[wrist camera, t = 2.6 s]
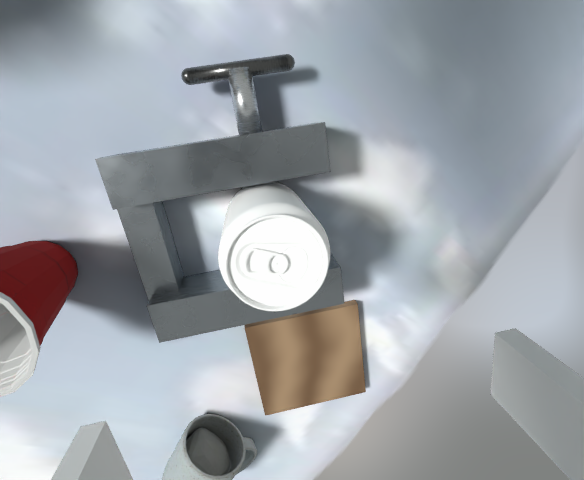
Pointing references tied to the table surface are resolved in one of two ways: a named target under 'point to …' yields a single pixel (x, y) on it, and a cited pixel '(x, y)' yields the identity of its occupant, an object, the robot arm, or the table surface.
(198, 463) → the ceramic mug
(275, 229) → the beverage can
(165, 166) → the c-clamp
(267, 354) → the pad
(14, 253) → the plastic cup
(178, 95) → the table surface
